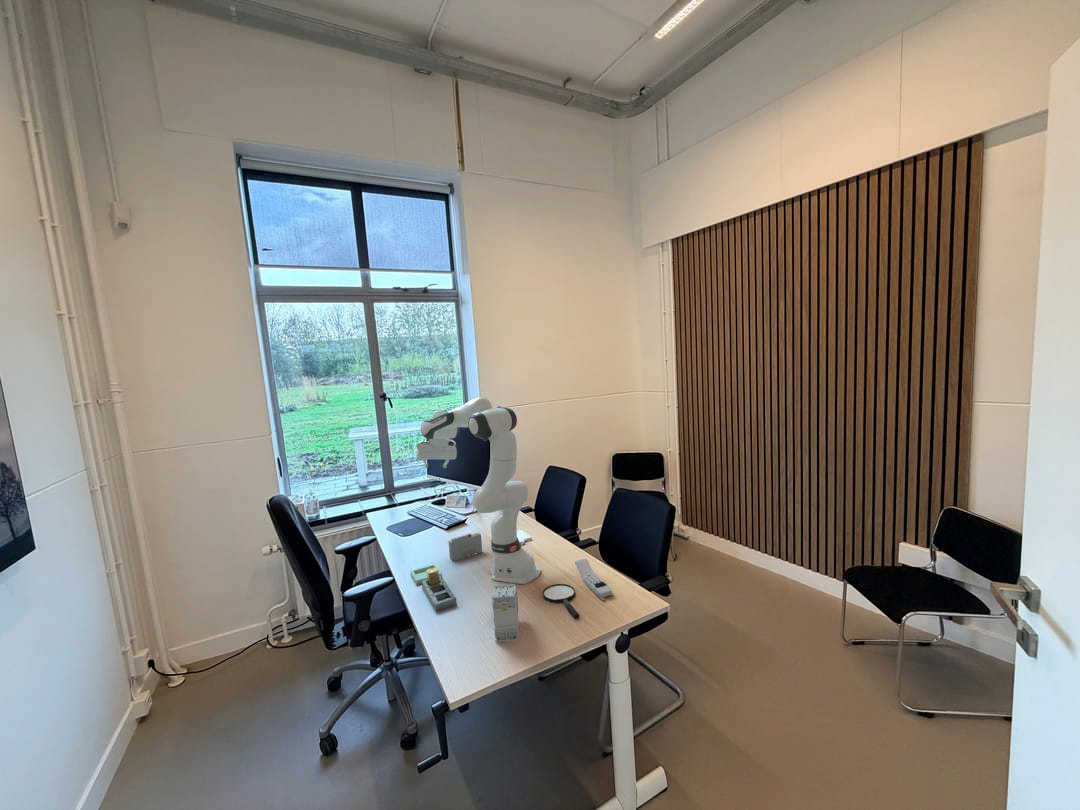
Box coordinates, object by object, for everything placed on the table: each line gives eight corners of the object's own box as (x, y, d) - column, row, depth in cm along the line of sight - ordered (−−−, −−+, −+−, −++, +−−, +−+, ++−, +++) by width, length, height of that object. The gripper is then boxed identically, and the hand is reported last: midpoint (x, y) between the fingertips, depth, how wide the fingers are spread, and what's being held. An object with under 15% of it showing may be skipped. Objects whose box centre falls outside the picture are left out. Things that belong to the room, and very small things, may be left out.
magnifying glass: (560, 624, 148) (559, 618, 148) (539, 592, 171) (538, 587, 171) (593, 615, 152) (592, 609, 152) (568, 585, 175) (567, 580, 175)
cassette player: (480, 550, 214) (478, 530, 213) (482, 551, 211) (480, 532, 210) (450, 559, 205) (448, 539, 205) (452, 561, 203) (450, 540, 202)
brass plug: (440, 589, 177) (438, 570, 177) (430, 592, 175) (428, 573, 175) (437, 585, 181) (435, 567, 180) (428, 588, 179) (426, 569, 178)
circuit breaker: (518, 615, 155) (516, 575, 154) (518, 639, 141) (515, 596, 140) (498, 616, 155) (495, 576, 154) (495, 641, 141) (491, 598, 139)
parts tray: (442, 577, 187) (441, 573, 187) (416, 585, 182) (416, 580, 182) (435, 568, 197) (435, 563, 197) (411, 574, 192) (410, 570, 192)
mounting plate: (497, 537, 229) (496, 533, 229) (519, 531, 235) (518, 528, 235) (510, 548, 213) (510, 545, 213) (533, 542, 219) (533, 538, 219)
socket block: (456, 605, 164) (456, 597, 164) (435, 612, 160) (435, 604, 160) (440, 581, 183) (440, 575, 183) (422, 587, 180) (421, 580, 179)
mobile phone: (586, 557, 185) (615, 583, 161) (587, 571, 185) (616, 598, 161) (573, 561, 183) (600, 587, 159) (574, 574, 183) (601, 603, 160)
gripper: (419, 442, 213) (416, 469, 214) (459, 442, 222) (456, 469, 224) (416, 439, 218) (413, 466, 219) (455, 440, 228) (452, 465, 229)
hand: (435, 467), depth 222 cm, fingers open, 8 cm apart
